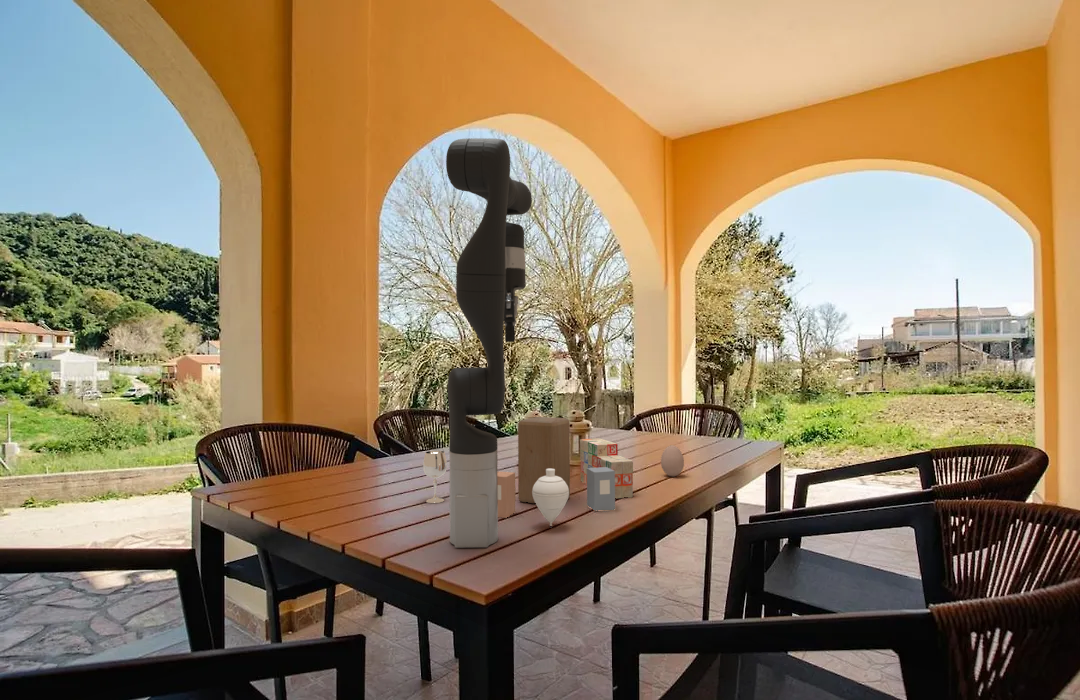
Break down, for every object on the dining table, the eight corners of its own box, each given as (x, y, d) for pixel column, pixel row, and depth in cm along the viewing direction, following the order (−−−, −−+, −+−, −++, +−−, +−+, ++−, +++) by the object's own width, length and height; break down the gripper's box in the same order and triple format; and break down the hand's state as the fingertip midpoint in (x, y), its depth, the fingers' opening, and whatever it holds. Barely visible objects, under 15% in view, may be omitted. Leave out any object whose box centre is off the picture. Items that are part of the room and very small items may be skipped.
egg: (680, 473, 166) (680, 443, 166) (686, 478, 160) (686, 446, 160) (658, 474, 166) (658, 443, 166) (664, 479, 159) (663, 447, 160)
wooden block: (516, 502, 135) (516, 420, 135) (536, 493, 143) (536, 416, 144) (553, 507, 130) (553, 422, 130) (571, 497, 139) (570, 417, 139)
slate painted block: (615, 510, 127) (614, 471, 127) (594, 512, 126) (594, 472, 126) (606, 504, 132) (606, 467, 132) (587, 506, 131) (586, 468, 131)
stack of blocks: (633, 497, 139) (633, 448, 139) (610, 499, 137) (610, 450, 137) (600, 480, 159) (600, 437, 159) (580, 481, 157) (579, 438, 158)
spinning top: (544, 519, 120) (543, 464, 120) (575, 524, 116) (575, 467, 116) (525, 529, 113) (524, 470, 114) (558, 535, 109) (557, 474, 110)
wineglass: (419, 503, 134) (419, 453, 135) (429, 497, 140) (429, 449, 140) (441, 504, 133) (441, 454, 133) (450, 498, 139) (450, 450, 139)
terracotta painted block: (506, 518, 121) (506, 477, 122) (486, 516, 123) (485, 475, 123) (515, 512, 126) (515, 472, 126) (495, 510, 128) (495, 471, 128)
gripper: (524, 263, 125) (525, 340, 125) (526, 273, 138) (526, 342, 138) (491, 264, 125) (491, 340, 125) (495, 273, 138) (496, 342, 138)
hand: (510, 341), depth 131 cm, fingers closed
